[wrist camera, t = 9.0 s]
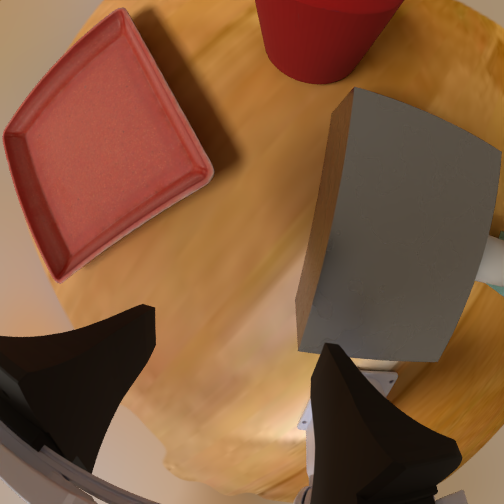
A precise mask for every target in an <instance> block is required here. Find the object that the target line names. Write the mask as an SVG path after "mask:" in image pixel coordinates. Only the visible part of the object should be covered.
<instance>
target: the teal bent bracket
mask: <svg viewBox="0 0 504 504" xmlns="http://www.w3.org/2000/svg"><path fill="white" fill-rule="evenodd" d="M475 281H479V282H483V283H486V284H487V285H489V286H490V287H491V288H493V289H494V290H496V291H497V292H498V293H500V294H501V295H502V296H504V232H503V231H501V232H500V236H499V239H498V238H496V237H493V236H491V235H488V239H487V243H486V246H485V250H484V253H483V257H482V260H481V263H480V266H479V270H478V273H477V275H476V278H475Z"/></svg>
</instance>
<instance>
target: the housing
mask: <svg viewBox="0 0 504 504" xmlns="http://www.w3.org/2000/svg"><path fill="white" fill-rule="evenodd" d="M501 154H502V152H501V151H499V150H498V149H496V148H495V147H493V146H491V145H490V144H488V143H486V142H485V141H483V140H481V139H480V138H478V137H476V136H474V135H473V134H471V133H469V132H467V131H465V130H463V129H461V128H459V127H458V126H456V125H454V124H452V123H449V122H447V121H445V120H443V119H441V118H439V117H437V116H435V115H432V114H430V113H428V112H425V111H423V110H421V109H418V108H416V107H413V106H411V105H408V104H406V103H403V102H400V101H398V100H395V99H392V98H389V97H386V96H383V95H380V94H377V93H374V92H371V91H367V90H364V89H361V88H357V87H354V88H353V89H352V90H351V91H350V93H349V94H348V95H347V96H346V97H345V98H344V100H343V101H342V102H341V103H340V104H339V105H338V107H337V108H336V109H335V110H334V111H333V113H332V115H331V122H330V129H329V135H328V142H327V148H326V154H325V160H324V166H323V172H322V177H321V183H320V188H319V194H318V199H317V204H316V209H315V214H314V219H313V224H312V229H311V234H310V238H309V243H308V247H307V252H306V256H305V261H304V265H303V270H302V274H301V278H300V282H299V286H298V291H297V295H296V299H295V304H296V320H297V339H298V351H301V352H308V353H315V354H321V351H322V349H323V346H324V344H325V343H332V344H339V345H340V346H341V348H342V349H343V350H344V351H345V353H346V354H347V355H348V356H349V357H351V358H361V359H374V360H389V361H411V362H438V360H439V359H440V357H441V355H442V353H443V351H444V349H445V347H446V346H447V344H448V342H449V340H450V338H451V336H452V334H453V332H454V329H455V327H456V325H457V323H458V321H459V319H460V316H461V314H462V312H463V309H464V307H465V305H466V302H467V300H468V297H469V295H470V292H471V289H472V287H473V284H474V281H475V278H476V275H477V273H478V270H479V266H480V263H481V260H482V257H483V253H484V250H485V246H486V243H487V239H488V235H489V231H490V227H491V222H492V218H493V213H494V208H495V202H496V196H497V190H498V183H499V175H500V166H501Z"/></svg>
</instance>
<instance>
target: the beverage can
mask: <svg viewBox="0 0 504 504" xmlns="http://www.w3.org/2000/svg"><path fill="white" fill-rule="evenodd" d="M403 1H404V0H255V2H256V7H257V12H258V17H259V22H260V26H261V31H262V36H263V40H264V45H265V49H266V53H267V55H268V57H269V59H270V60H271V62H272V63H273V64H274V65H275V67H277V68H278V69H279V70H280V71H281V72H283V73H284V74H286V75H287V76H289V77H291V78H293V79H295V80H298V81H301V82H305V83H311V84H327V83H332V82H336V81H339V80H341V79H343V78H345V77H346V76H348V75H349V74H350V73H351V72H352V71H353V70H354V68H355V67H356V66H357V64H358V63H359V62H360V60H361V59H362V58H363V56H364V55H365V54H366V52H367V51H368V50H369V48H370V47H371V46H372V44H373V43H374V41H375V40H376V39H377V37H378V36H379V35H380V33H381V32H382V31H383V29H384V28H385V26H386V25H387V24H388V22H389V21H390V19H391V18H392V16H393V15H394V14H395V12H396V11H397V9H398V8H399V7H400V5H401V4H402V2H403Z"/></svg>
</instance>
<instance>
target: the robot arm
mask: <svg viewBox="0 0 504 504" xmlns="http://www.w3.org/2000/svg"><path fill="white" fill-rule="evenodd" d="M155 346H156V333H155V307H151V306H148V305H144V304H141V305H138V306H136V307H133V308H131V309H129V310H126V311H124V312H122V313H119V314H117V315H114V316H112V317H110V318H107V319H105V320H102V321H99V322H97V323H94V324H91V325H89V326H86V327H83V328H79V329H76V330H72V331H68V332H64V333H58V334H52V335H45V336H36V337H7V336H0V479H1V480H2V481H3V482H4V483H5V484H6V485H7V486H8V487H9V488H11V489H12V490H13V491H14V492H15V493H16V494H18V496H19V497H20V498H22V499H23V500H24V501H25V502H26V503H28V504H97V503H96V502H95V501H94V499H93V498H92V496H90V495H88V494H87V493H89V494H91V495H93V496H95V497H96V498H98V499H100V500H102V501H104V502H106V503H109V504H160V503H156V502H154V501H151V500H148V499H146V498H143V497H140V496H138V495H135V494H133V493H130V492H128V491H126V490H123V489H121V488H119V487H117V486H114V485H112V484H110V483H108V482H106V481H104V480H102V479H100V478H98V477H96V476H94V475H92V471H93V468H94V464H95V461H96V458H97V455H98V452H99V449H100V447H101V444H102V441H103V439H104V436H105V434H106V432H107V429H108V427H109V425H110V422H111V420H112V418H113V416H114V414H115V412H116V410H117V408H118V406H119V404H120V402H121V401H122V399H123V397H124V396H125V394H126V393H127V392H128V390H129V389H130V387H131V386H132V384H133V383H134V381H135V380H136V378H137V377H138V376H139V374H140V373H141V371H142V370H143V368H144V367H145V365H146V364H147V362H148V360H149V358H150V356H151V354H152V352H153V350H154V348H155ZM397 378H398V374H397V373H396V372H381V371H364V370H359V369H358V368H357V366H356V365H355V364H354V363H353V361H352V360H351V359H350V358H349V356H348V355H347V354H346V353H345V351H344V350H343V349H342V348H341V346H340V345H339V344H332V343H325V344H324V346H323V349H322V351H321V354H320V357H319V359H318V362H317V364H316V367H315V369H314V372H313V374H312V377H311V396H310V399H309V401H308V404H307V406H306V408H305V410H304V412H303V414H302V416H301V418H300V421H299V423H298V425H297V428H298V429H300V430H306V462H307V474H308V476H309V486H306V487H304V488H302V489H301V490H300V491H299V493H298V494H297V496H296V498H295V500H294V502H293V504H468V503H467V500H466V496H465V493H464V491H463V490H460V491H458V492H455V493H453V494H450V495H447V496H445V497H442V498H440V499H438V500H436V501H435V497H434V495H435V494H437V492H438V490H437V486H436V485H437V484H439V483H440V482H441V481H442V480H444V479H445V478H446V477H447V476H449V475H450V474H451V473H452V472H453V471H454V470H455V469H456V468H457V467H458V466H459V465H460V463H461V461H462V455H461V453H460V451H459V448H458V446H457V443H456V441H455V440H454V439H451V438H449V437H446V436H444V435H442V434H439V433H437V432H435V431H433V430H431V429H429V428H427V427H425V426H423V425H422V424H420V423H418V422H417V421H415V420H413V419H412V418H411V417H409V416H408V415H406V414H405V413H403V412H402V411H401V410H399V409H398V408H397V407H396V406H394V405H393V404H392V403H391V402H390V401H389V400H387V398H386V396H387V395H388V393H389V392H390V390H391V388H392V387H393V385H394V383H395V382H396V380H397ZM76 486H77V487H76ZM79 488H80V489H79ZM81 489H82V490H83V491H82V490H81ZM84 491H85V492H87V493H85V492H84Z"/></svg>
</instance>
